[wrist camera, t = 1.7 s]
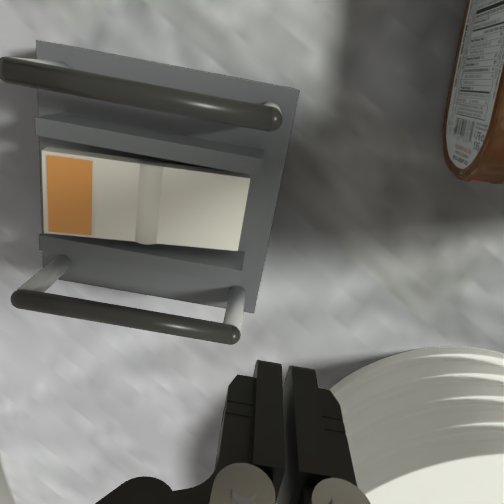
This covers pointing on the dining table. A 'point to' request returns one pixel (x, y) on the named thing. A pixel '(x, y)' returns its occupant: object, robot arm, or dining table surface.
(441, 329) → the dining table surface
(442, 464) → the plate stack
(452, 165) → the tin
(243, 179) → the breaker paddle
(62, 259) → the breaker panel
